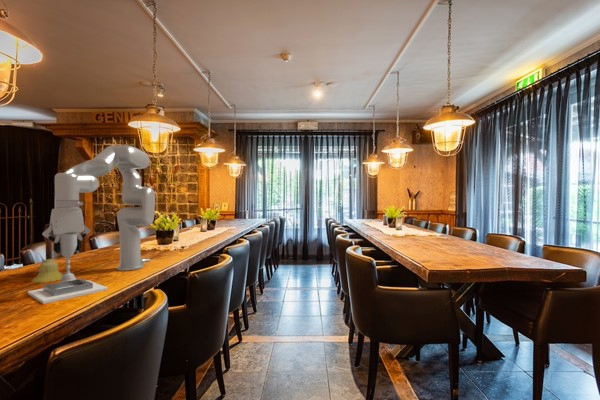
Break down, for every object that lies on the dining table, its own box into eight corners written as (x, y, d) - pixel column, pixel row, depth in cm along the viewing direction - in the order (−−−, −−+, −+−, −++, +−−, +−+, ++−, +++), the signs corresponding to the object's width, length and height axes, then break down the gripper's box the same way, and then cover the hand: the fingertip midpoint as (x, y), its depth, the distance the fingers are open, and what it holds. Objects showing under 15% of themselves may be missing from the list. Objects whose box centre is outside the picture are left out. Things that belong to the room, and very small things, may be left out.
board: (88, 282, 134) (88, 280, 134) (107, 290, 122) (107, 287, 122) (27, 293, 118) (27, 291, 118) (43, 304, 106) (43, 301, 106)
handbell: (24, 283, 134) (24, 225, 134) (40, 276, 145) (39, 223, 145) (58, 281, 137) (57, 224, 137) (70, 274, 149) (70, 222, 149)
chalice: (53, 280, 119) (52, 233, 119) (72, 276, 125) (72, 232, 125) (63, 283, 115) (62, 234, 116) (82, 278, 121) (82, 232, 122)
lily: (48, 277, 149) (60, 258, 153) (20, 269, 145) (33, 250, 150) (55, 279, 159) (66, 261, 163) (29, 272, 156) (41, 254, 160)
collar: (81, 283, 129) (80, 278, 129) (92, 288, 121) (92, 283, 121) (43, 290, 119) (43, 285, 119) (53, 296, 112) (53, 290, 112)
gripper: (89, 204, 129) (89, 248, 129) (36, 205, 116) (36, 254, 116) (96, 204, 125) (96, 249, 125) (42, 205, 111) (42, 256, 111)
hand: (67, 251), depth 120 cm, fingers closed on chalice, 5 cm apart
